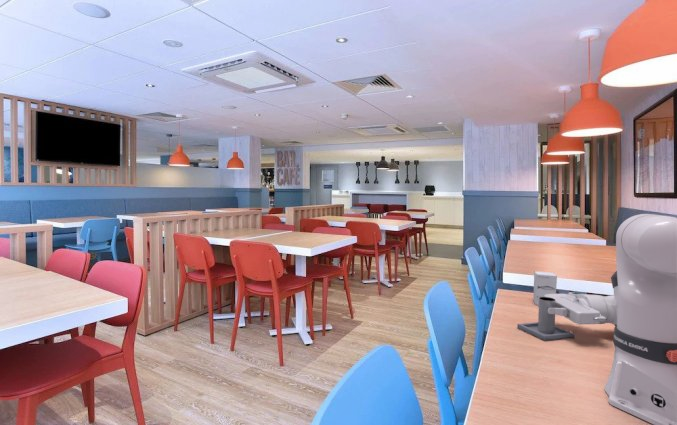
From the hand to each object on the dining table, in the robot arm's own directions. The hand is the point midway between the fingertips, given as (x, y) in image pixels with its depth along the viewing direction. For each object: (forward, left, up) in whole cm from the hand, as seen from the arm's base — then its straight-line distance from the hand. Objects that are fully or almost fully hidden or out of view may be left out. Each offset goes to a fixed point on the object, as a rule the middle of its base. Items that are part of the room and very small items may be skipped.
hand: (542, 307), depth 116 cm
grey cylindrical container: (0, -1, -8) cm, 8 cm away
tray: (0, -1, -8) cm, 8 cm away
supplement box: (+27, -27, -8) cm, 39 cm away
